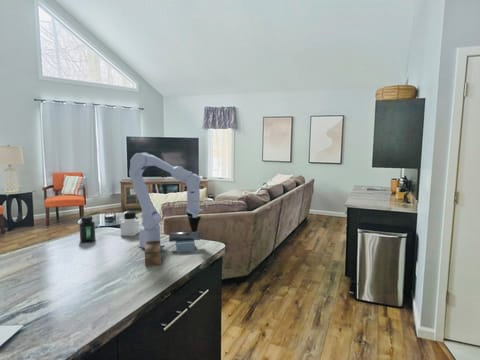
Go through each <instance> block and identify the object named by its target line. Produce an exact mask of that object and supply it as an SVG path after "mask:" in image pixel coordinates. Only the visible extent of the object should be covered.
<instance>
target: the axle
mask: <svg viewBox="0 0 480 360" xmlns="http://www.w3.org/2000/svg"><path fill="white" fill-rule="evenodd" d="M168 239H169V240H168V242H170V243H176V241H186V240H194V241H201V231H199V230H197V232H192V231H184V232H183V231H181V232H179V231H178V232H168Z"/></svg>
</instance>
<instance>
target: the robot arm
mask: <svg viewBox="0 0 480 360" xmlns="http://www.w3.org/2000/svg"><path fill="white" fill-rule="evenodd" d="M129 163H130V164H129V169H128V174H129V179H130V181H131V184H132V186H133V189H134V191H135V195H136V197H137V200H138V202H139V206H140V208H141V218H142V220H141V221H142V222H141V223H142V224H141V225H142V227H141V228H140V229H139V233H138V235H139V236H138V239H139V241H138V243H139V245H137V246H138V247H139V248H142V249H145V247H146V242H147V241H160V242H161V226H160V223H161V221H162V216H161V214H160V213H159V212H158V211H157V210H158V209H156V208H155V206H154V205H153V201H152V199H151V197H150V193H149V190H148V188H147V185H146V182H145V180H144V177H143V172H144V171H145V170H146V169H147V168H148V167H153V166H154V167H156V168H159V169H161V170H163V171H165V172H167V173H170V175H171V177H172V178H173V179H175V180H178V181H179V182H181V183H183V184H185V185H186V188H187V189H186V198H187V199H186V204H187V205H186V215H187V219H188V223H189V227H190V229H191V232H197V231H198V228H199V223H200V221H201V219H202V217H201V216H198V215H199V213H200V212H203V208H200V207H201V206H200V201H201V200H200V198H201V197H200V195H201V194H200V193H201V190H200V183H201V177H200V176H199V174H197V173H193V171H189V170H188V169H185V168H184V166H181V165H176V166H173V165H172V164H169V163H168V162H166V161H164V160H163V159H161V158H159V157H157V156H155V155H153V154H150V153H149V152H145V151H144V152H136V153H135V154H134V155H132V156H131V158H130V160H129ZM164 246H165V244H163V243H160V247H164Z"/></svg>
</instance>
